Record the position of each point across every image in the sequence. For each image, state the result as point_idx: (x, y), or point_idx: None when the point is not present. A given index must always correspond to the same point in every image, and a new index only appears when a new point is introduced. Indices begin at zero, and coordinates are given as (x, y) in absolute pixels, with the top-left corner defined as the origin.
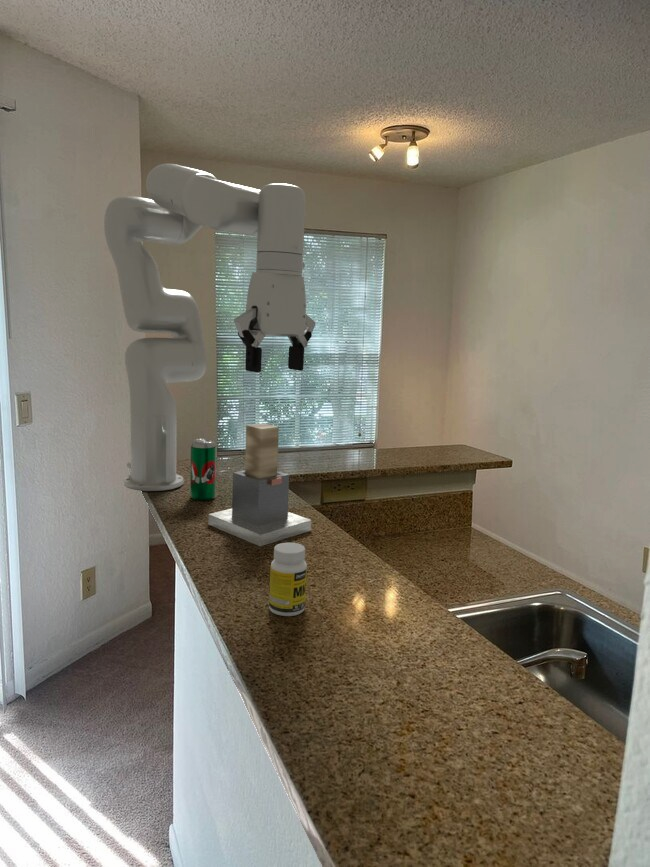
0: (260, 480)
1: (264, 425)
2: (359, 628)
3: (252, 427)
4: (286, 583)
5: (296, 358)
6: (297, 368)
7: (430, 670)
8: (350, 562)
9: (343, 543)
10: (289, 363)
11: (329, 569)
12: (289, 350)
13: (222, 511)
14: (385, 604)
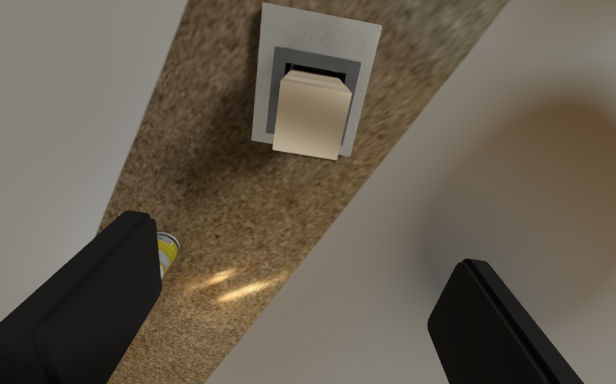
0: (269, 132)
1: (321, 121)
2: (186, 293)
3: (277, 111)
4: None
5: (461, 362)
6: (433, 318)
7: (180, 337)
8: (289, 235)
9: (333, 204)
10: (468, 288)
11: (258, 229)
12: (526, 365)
13: (290, 12)
14: (233, 291)
